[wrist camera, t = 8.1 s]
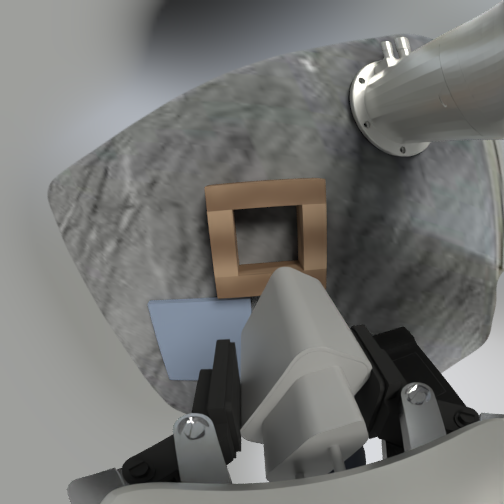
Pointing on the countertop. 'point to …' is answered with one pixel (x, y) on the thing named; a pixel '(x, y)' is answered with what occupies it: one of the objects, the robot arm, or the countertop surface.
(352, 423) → the power adapter
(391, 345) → the portable radio
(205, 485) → the robot arm
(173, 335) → the blue square plate
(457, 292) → the countertop surface
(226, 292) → the walnut collar
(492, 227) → the countertop surface
